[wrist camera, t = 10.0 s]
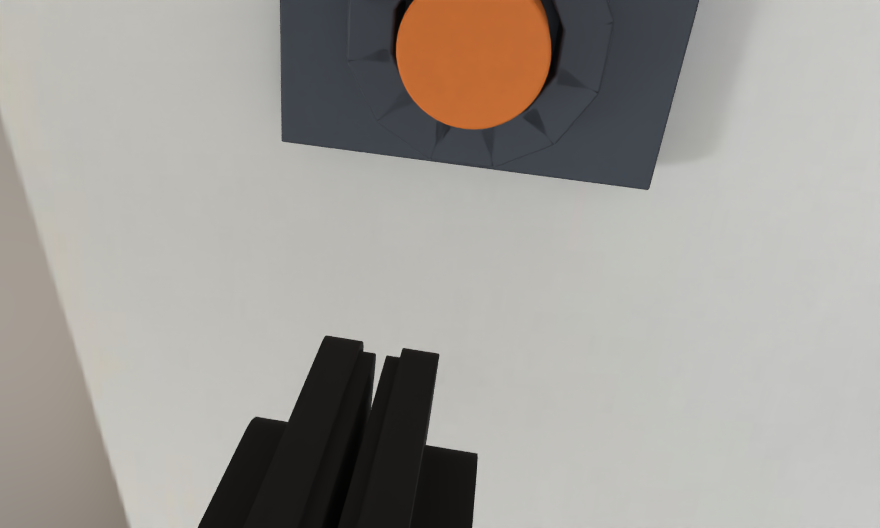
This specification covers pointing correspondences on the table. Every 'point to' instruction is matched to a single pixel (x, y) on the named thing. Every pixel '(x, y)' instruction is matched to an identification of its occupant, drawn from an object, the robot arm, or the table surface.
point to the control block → (514, 142)
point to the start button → (474, 58)
